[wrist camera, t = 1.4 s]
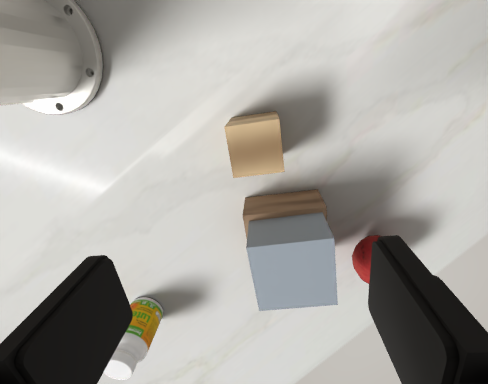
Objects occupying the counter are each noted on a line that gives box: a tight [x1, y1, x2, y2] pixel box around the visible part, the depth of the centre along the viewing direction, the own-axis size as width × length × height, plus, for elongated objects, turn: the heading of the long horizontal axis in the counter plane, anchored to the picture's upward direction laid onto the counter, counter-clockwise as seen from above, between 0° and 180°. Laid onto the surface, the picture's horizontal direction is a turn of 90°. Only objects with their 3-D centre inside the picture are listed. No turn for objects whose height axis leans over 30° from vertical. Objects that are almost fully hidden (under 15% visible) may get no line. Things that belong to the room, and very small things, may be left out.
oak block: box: [225, 111, 284, 178], centre depth 27 cm, size 5×5×6 cm
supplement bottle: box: [104, 297, 163, 380], centre depth 38 cm, size 5×5×10 cm
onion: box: [352, 235, 381, 284], centre depth 31 cm, size 6×6×8 cm
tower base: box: [243, 189, 327, 237], centre depth 32 cm, size 9×9×5 cm
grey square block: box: [246, 212, 338, 311], centre depth 28 cm, size 8×8×5 cm
